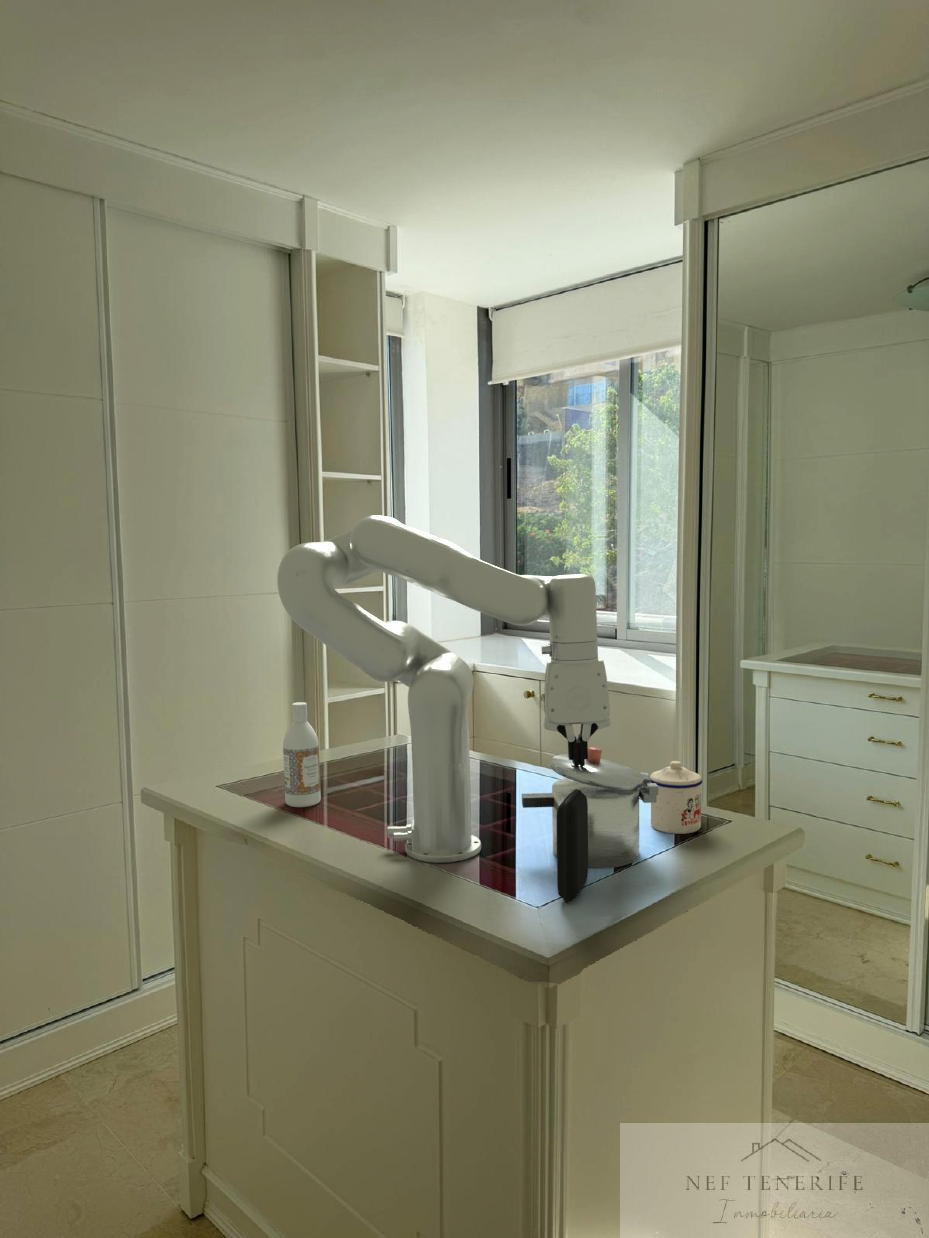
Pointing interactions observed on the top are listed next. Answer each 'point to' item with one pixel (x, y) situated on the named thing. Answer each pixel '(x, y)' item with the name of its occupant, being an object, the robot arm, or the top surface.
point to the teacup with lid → (676, 800)
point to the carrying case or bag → (572, 845)
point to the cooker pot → (602, 819)
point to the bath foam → (301, 760)
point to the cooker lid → (599, 772)
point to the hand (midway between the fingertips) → (578, 763)
